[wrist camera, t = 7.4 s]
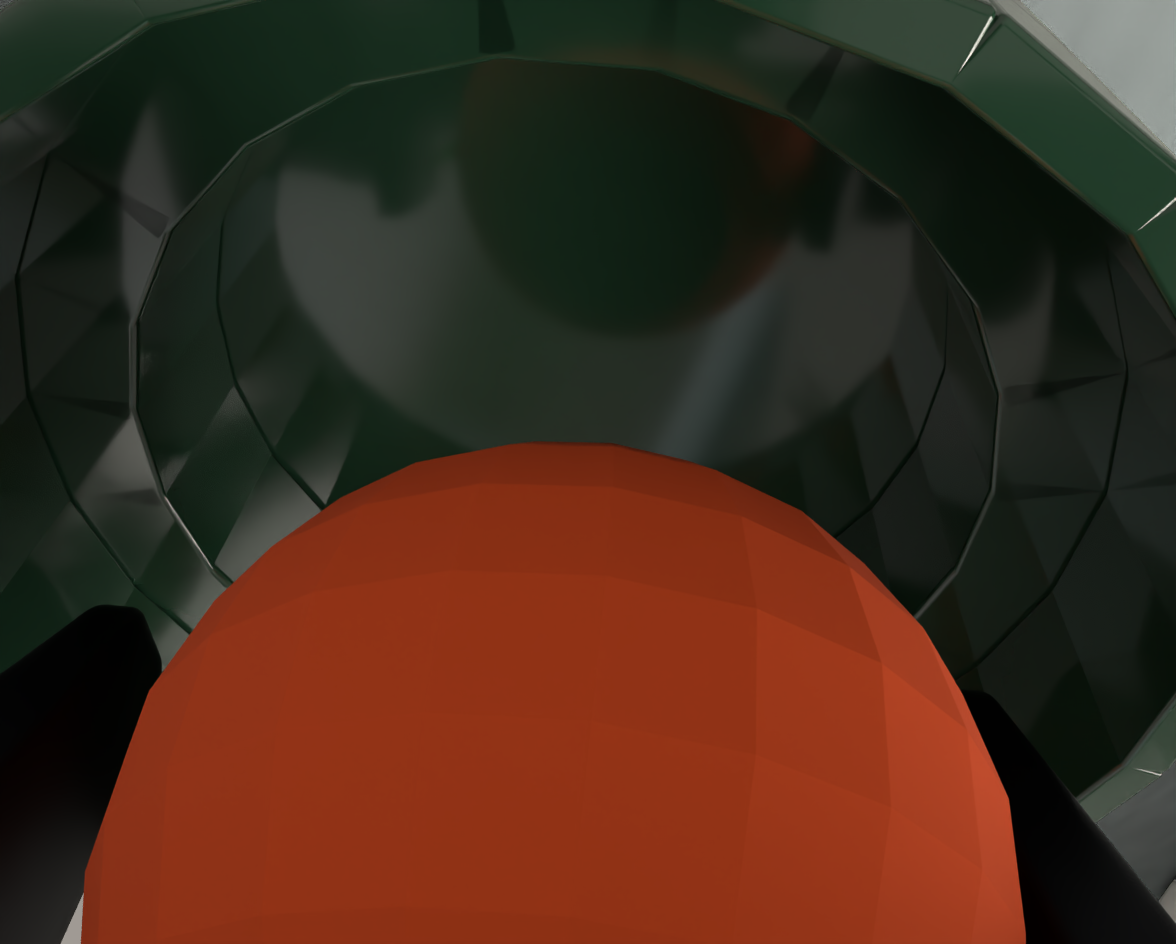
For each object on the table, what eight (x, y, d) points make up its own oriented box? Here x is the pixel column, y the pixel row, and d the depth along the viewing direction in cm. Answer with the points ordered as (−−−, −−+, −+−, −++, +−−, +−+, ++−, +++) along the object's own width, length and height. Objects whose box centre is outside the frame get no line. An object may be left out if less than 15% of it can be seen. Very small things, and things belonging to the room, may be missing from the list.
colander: (1304, -167, 9) (1834, -23, 5) (914, 682, 18) (985, 993, 14) (-61, -267, 9) (-658, -212, 5) (216, 615, 18) (76, 898, 14)
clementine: (316, 748, 13) (62, 1489, 8) (59, 328, 9) (-913, 1360, 3) (907, 733, 12) (1086, 1615, 7) (950, 227, 7) (1612, 1664, 2)
